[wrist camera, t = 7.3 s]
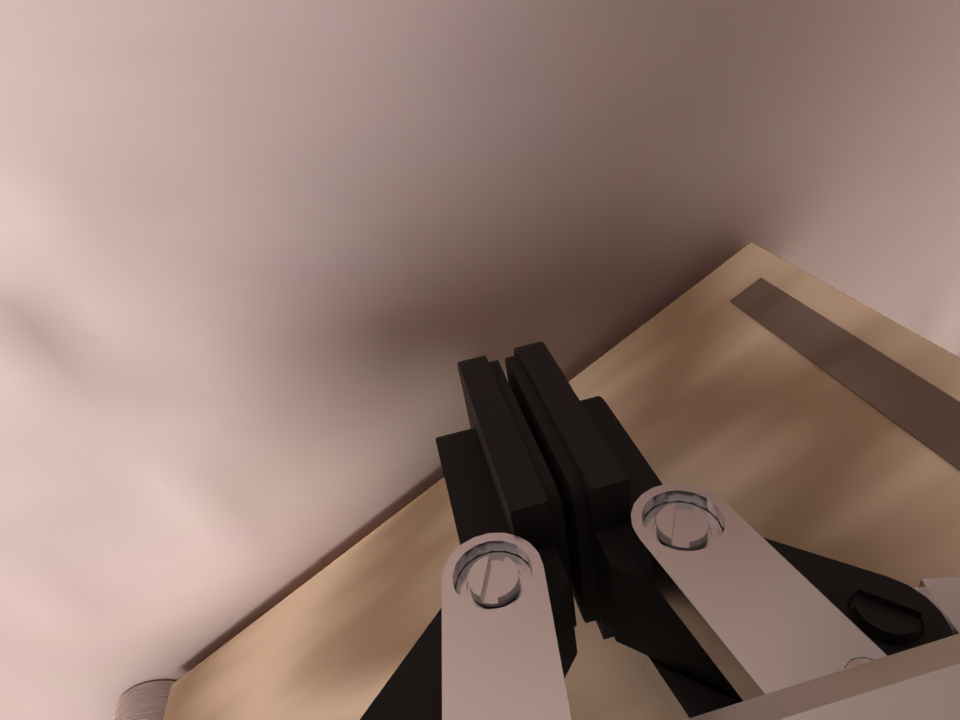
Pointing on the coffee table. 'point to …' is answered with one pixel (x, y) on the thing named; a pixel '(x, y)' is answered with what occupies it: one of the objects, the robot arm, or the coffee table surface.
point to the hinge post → (144, 701)
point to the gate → (675, 459)
